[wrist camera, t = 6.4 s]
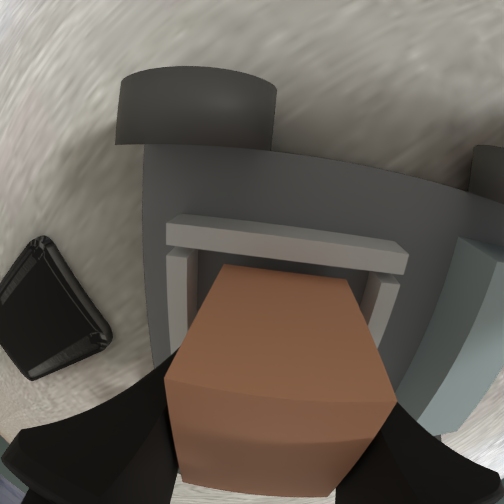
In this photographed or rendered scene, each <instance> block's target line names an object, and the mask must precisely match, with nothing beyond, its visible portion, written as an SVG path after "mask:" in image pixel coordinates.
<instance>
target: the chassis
mask: <svg viewBox="0 0 504 504" xmlns="http://www.w3.org/2000/svg"><path fill="white" fill-rule="evenodd" d="M276 95H277V89H276V87H275V86H274V85H273V84H271V83H270V82H268V81H266V80H264V79H261V78H259V77H256V76H253V75H249V74H246V73H242V72H238V71H233V70H227V69H220V68H212V67H199V66H175V67H162V68H155V69H149V70H144V71H140V72H137V73H134V74H131V75H129V76H127V77H125V78H124V79H123V80H122V81H121V88H120V95H119V104H118V114H117V125H116V139H115V145H124V144H145V146H144V164H143V198H142V225H143V259H144V277H145V292H146V304H147V315H148V324H149V333H150V341H151V349H152V357H153V363H154V369H155V368H156V367H157V366H159V365H160V364H161V363H162V362H163V361H164V360H166V359H167V358H168V357H169V356H170V355H171V354H172V353H173V352H175V351H176V350H177V349H178V348H179V347H180V346H181V344H182V342H183V340H184V338H185V336H186V334H187V332H188V330H189V329H190V327H191V325H192V323H193V321H194V319H195V317H196V315H197V313H198V311H199V310H200V308H201V306H202V304H203V302H204V300H205V298H206V296H207V294H208V293H209V291H210V289H211V287H212V285H213V283H214V281H215V279H216V278H217V276H218V274H219V272H220V270H221V268H222V266H223V265H224V264H229V265H237V266H244V267H252V268H260V269H268V270H275V271H283V272H291V273H299V274H307V275H316V276H324V277H332V278H341V279H346V280H347V282H348V284H349V286H350V288H351V290H352V293H353V295H354V297H355V299H356V301H357V303H358V306H359V308H360V310H361V312H362V315H363V317H364V319H365V321H366V324H367V326H368V328H369V331H370V333H371V335H372V338H373V340H374V342H375V345H376V347H377V350H378V352H379V355H380V357H381V359H382V362H383V364H384V367H385V369H386V372H387V375H388V377H389V380H390V382H391V385H392V388H393V390H394V393H395V396H396V398H397V402H398V403H399V404H400V405H401V406H402V407H403V408H404V409H405V410H406V411H407V412H408V413H409V415H410V416H411V417H413V418H414V419H415V420H416V421H417V422H418V423H419V424H420V425H421V426H422V427H423V428H425V429H426V430H427V431H428V432H429V433H430V434H432V435H433V436H434V437H435V438H437V439H438V440H439V441H441V434H446V433H451V432H455V431H457V430H458V429H459V428H460V427H461V425H462V424H463V423H464V422H465V420H466V419H467V418H468V417H469V415H470V414H471V413H472V412H473V410H474V409H475V408H476V406H477V405H478V403H479V402H480V401H481V399H482V398H483V396H484V395H485V394H486V392H487V391H488V389H489V388H490V386H491V385H492V383H493V382H494V380H495V378H496V377H497V375H498V374H499V372H500V370H501V369H502V367H503V365H504V148H501V147H496V146H488V145H477V146H474V150H473V160H472V168H471V175H470V182H469V188H468V192H466V191H463V190H460V189H456V188H453V187H450V186H446V185H443V184H439V183H436V182H432V181H428V180H425V179H421V178H417V177H413V176H409V175H405V174H401V173H397V172H392V171H388V170H383V169H379V168H374V167H369V166H364V165H359V164H354V163H349V162H343V161H338V160H332V159H326V158H319V157H313V156H306V155H299V154H292V153H284V152H275V151H271V143H272V133H273V124H274V114H275V104H276ZM178 473H179V474H181V472H180V468H179V469H178Z"/></svg>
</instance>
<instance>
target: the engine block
mask: <svg viewBox="0 0 504 504" xmlns="http://www.w3.org/2000/svg"><path fill="white" fill-rule="evenodd" d="M164 382H165V390H166V397H167V404H168V410H169V416H170V422H171V428H172V434H173V439H174V444H175V449H176V454H177V459H178V463H179V468H180V472H181V477H182V481H183V482H185V483H189V484H194V485H198V486H203V487H208V488H213V489H219V490H225V491H231V492H238V493H246V494H255V495H266V496H280V497H328V496H329V495H330V493H331V492H332V491H333V490H334V489H335V488H336V487H337V485H338V484H339V483H340V482H341V481H342V480H343V478H344V477H345V476H346V475H347V473H348V472H349V471H350V470H351V468H352V467H353V466H354V465H355V463H356V462H357V461H358V459H359V458H360V457H361V455H362V454H363V453H364V451H365V450H366V449H367V447H368V446H369V444H370V443H371V442H372V440H373V439H374V437H375V436H376V434H377V433H378V431H379V430H380V428H381V427H382V425H383V424H384V422H385V421H386V419H387V417H388V416H389V414H390V413H391V411H392V409H393V408H394V406H395V404H396V403H397V398H396V396H395V393H394V390H393V388H392V385H391V382H390V380H389V377H388V375H387V372H386V369H385V367H384V364H383V362H382V359H381V357H380V355H379V352H378V350H377V347H376V345H375V342H374V340H373V338H372V335H371V333H370V331H369V328H368V326H367V324H366V321H365V319H364V317H363V315H362V312H361V310H360V308H359V306H358V303H357V301H356V299H355V297H354V295H353V293H352V290H351V288H350V286H349V284H348V282H347V280H346V279H341V278H332V277H324V276H316V275H307V274H299V273H291V272H283V271H275V270H268V269H260V268H252V267H244V266H237V265H229V264H224V265H223V266H222V268H221V270H220V272H219V274H218V276H217V278H216V279H215V281H214V283H213V285H212V287H211V289H210V291H209V293H208V294H207V296H206V298H205V300H204V302H203V304H202V306H201V308H200V310H199V311H198V313H197V315H196V317H195V319H194V321H193V323H192V325H191V327H190V329H189V330H188V332H187V334H186V336H185V338H184V340H183V342H182V344H181V346H180V348H179V350H178V352H177V354H176V356H175V358H174V359H173V361H172V363H171V365H170V367H169V369H168V371H167V373H166V375H165V377H164Z"/></svg>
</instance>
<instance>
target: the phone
mask: <svg viewBox="0 0 504 504" xmlns="http://www.w3.org/2000/svg"><path fill="white" fill-rule="evenodd" d="M112 338H113V334H112V330H111V328H110V326H109V324H108V323H107V322H106V320H105V319H104V318H103V316H102V315H101V314H100V312H99V311H98V310H97V308H96V307H95V305H94V304H93V303H92V301H91V300H90V298H89V297H88V295H87V294H86V293H85V291H84V290H83V288H82V287H81V285H80V284H79V282H78V281H77V279H76V278H75V276H74V275H73V273H72V271H71V270H70V268H69V267H68V265H67V264H66V262H65V260H64V259H63V257H62V255H61V254H60V252H59V250H58V249H57V247H56V245H55V244H54V242H53V241H52V240H51V239H50V238H49V237H47V236H40V237H38V238H36V239H33V240H32V241H30V242H29V244H28V245H27V246H26V248H25V249H24V250H23V252H22V253H21V254H20V256H19V257H18V258H17V260H16V261H15V262H14V264H13V265H12V267H11V268H10V270H9V271H8V273H7V274H6V275H5V277H4V278H3V280H2V282H1V283H0V345H1V346H2V348H3V349H4V350H5V352H6V353H7V355H8V356H9V357H10V359H11V360H12V361H13V363H14V364H15V365H16V366H17V368H18V369H19V370H20V372H21V373H22V374H23V375H24V376H25V377H26V378H27V379H29V380H30V381H34V380H37V379H39V378H41V377H44V376H46V375H48V374H51V373H53V372H55V371H58V370H60V369H62V368H65V367H67V366H69V365H71V364H74V363H76V362H78V361H81V360H83V359H85V358H87V357H90V356H92V355H94V354H96V353H98V352H101V351H103V350H104V349H105V348H106V347H107V346H108V345H109V344H110V342H111V341H112Z"/></svg>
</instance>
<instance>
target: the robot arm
mask: <svg viewBox="0 0 504 504" xmlns="http://www.w3.org/2000/svg"><path fill="white" fill-rule="evenodd" d="M179 348H180V347H179ZM179 348H178V349H177V350H176V351H175V352H173V353H172V354H171V355H170V356H169V357H168V358H167V359H166V360H164V361H163V362H162V363H161V364H160V365H159V366H157V367H156V368H155V369H154V370H153V371H151V372H150V373H149V374H147V375H146V376H145V377H143V378H142V379H141V380H139V381H138V382H137V383H135V384H134V385H132V386H131V387H129V388H128V389H126V390H125V391H123V392H122V393H120V394H118V395H117V396H115V397H113V398H112V399H110V400H108V401H106V402H104V403H102V404H100V405H98V406H96V407H94V408H92V409H90V410H88V411H85V412H83V413H80V414H78V415H75V416H72V417H69V418H67V419H64V420H61V421H58V422H54V423H50V424H46V425H42V426H37V427H32V428H27V429H21V430H20V432H19V433H18V434H17V436H16V437H15V438H14V440H13V441H12V442H11V444H10V445H9V447H8V448H7V449H6V451H5V452H4V454H3V455H2V457H1V459H2V462H3V463H4V465H5V466H6V467H7V468H8V469H9V470H10V471H11V472H12V473H13V474H14V475H15V476H16V477H18V478H19V479H20V480H21V481H22V482H23V483H24V484H25V485H26V486H28V487H29V490H28V491H27V493H26V494H25V493H23V492H22V491H20V490H19V489H18V488H17V487H15V486H14V485H13V484H11V483H10V482H9V481H8V480H6V479H5V478H4V477H3V476H2V475H1V474H0V504H170V501H171V497H172V493H173V489H174V485H175V481H176V477H177V473H178V469H179V463H178V459H177V454H176V449H175V444H174V439H173V434H172V428H171V422H170V416H169V410H168V404H167V397H166V390H165V382H164V377H165V375H166V373H167V371H168V369H169V367H170V365H171V363H172V361H173V359H174V358H175V356H176V354H177V352H178V350H179ZM503 496H504V488H503V485H502V482H501V479H500V476H499V474H498V472H495V471H493V470H490V469H488V468H486V467H483V466H481V465H479V464H476V463H474V462H473V461H471V460H469V459H467V458H465V457H464V456H462V455H460V454H458V453H457V452H455V451H454V450H452V449H451V448H449V447H448V446H446V445H445V444H443V443H442V442H441V441H439V440H438V439H437V438H435V437H434V436H433V435H432V434H430V433H429V432H428V431H427V430H426V429H425V428H423V427H422V426H421V425H420V424H419V423H418V422H417V421H416V420H415V419H414V418H413V417H411V416H410V415H409V413H408V412H407V411H406V410H405V409H404V408H403V407H402V406H401V405H400V404H399V403H398V402H397V403H396V404H395V406H394V408H393V409H392V411H391V413H390V414H389V416H388V417H387V419H386V421H385V422H384V424H383V425H382V427H381V428H380V430H379V431H378V433H377V434H376V436H375V437H374V439H373V440H372V442H371V443H370V444H369V446H368V447H367V449H366V450H365V451H364V453H363V454H362V455H361V457H360V458H359V459H358V461H357V462H356V463H355V465H354V466H353V467H352V468H351V470H350V471H349V472H348V473H347V475H346V476H345V477H344V478H343V480H342V481H341V482H340V483H339V484H338V485H337V487H336V498H335V504H495V503H496V502H498V501H499V500H500V499H501V498H502V497H503Z"/></svg>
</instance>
